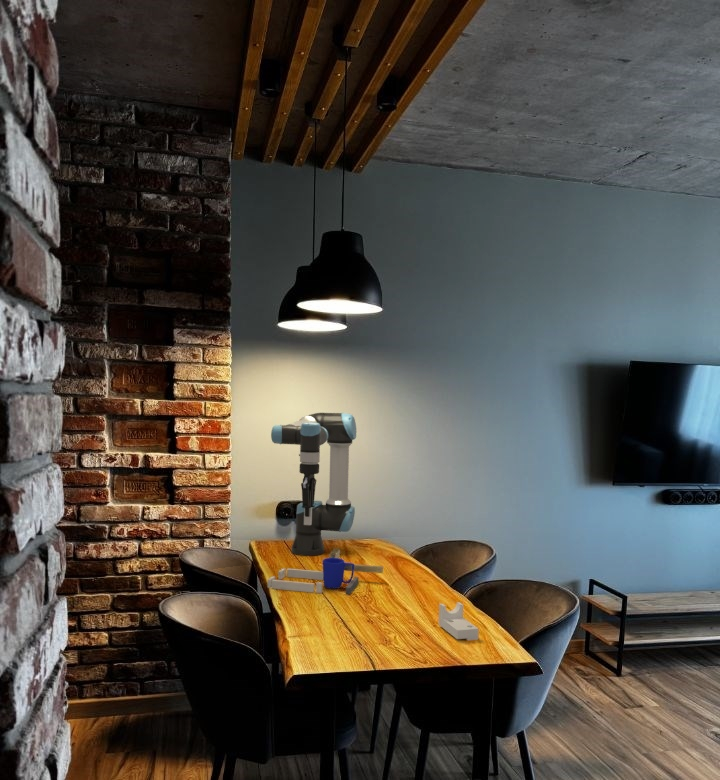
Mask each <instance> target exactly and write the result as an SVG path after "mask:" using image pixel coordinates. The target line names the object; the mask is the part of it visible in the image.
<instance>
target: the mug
mask: <svg viewBox="0 0 720 780" xmlns="http://www.w3.org/2000/svg"><path fill="white" fill-rule="evenodd" d="M346 565H352V571H351V574H350V575H351V576H350V578H349V580H348V581H347V580H344V573H345V572H344V571H345V570H344V567H345V566H346ZM322 572H323V580H322V581H323V586H324V587H325V588H327V589H331V590H332V589H334V590H335V589H339V588H341V587H342V585H343V584H349V583H350V582H351V581H352V580H353V578H354V574H355V573H354V572H355V571H354V563H352V562H346V561H345V560H344V559H342V558H340V557H339V558H329V557H328V558H327V557H326V558H323V559H322Z"/></svg>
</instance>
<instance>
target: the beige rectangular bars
mask: <svg viewBox="0 0 720 780" xmlns="http://www.w3.org/2000/svg"><path fill="white" fill-rule="evenodd" d="M277 573H278V574H277V575H278V576H277V577H278V578H277V579H276V575H275V576H271V577H269V578H268V579H267V589H273V590H280V591H281V590H283V591H291V592H292V591H293V592H305V593H311V594H312V593H316V594H322V593H323V582H318V581H317V582H316V583H312V582H302V581H291V580H282V579H284V578H285V577H286V578H295V579H296V578H297V579H306V580H307V579H309V580H320V581H323V570H322V571H321V570H308V569H298V568H290V567H289V568H287V569H286V568H281V569H280V570H279V571H278V572H277ZM315 584H316V586H315ZM315 589H316V592H315Z"/></svg>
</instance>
